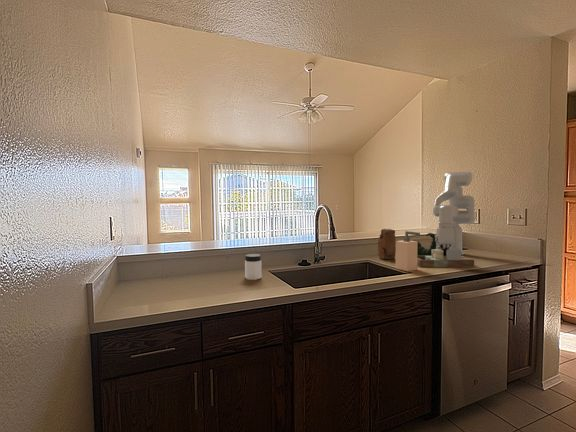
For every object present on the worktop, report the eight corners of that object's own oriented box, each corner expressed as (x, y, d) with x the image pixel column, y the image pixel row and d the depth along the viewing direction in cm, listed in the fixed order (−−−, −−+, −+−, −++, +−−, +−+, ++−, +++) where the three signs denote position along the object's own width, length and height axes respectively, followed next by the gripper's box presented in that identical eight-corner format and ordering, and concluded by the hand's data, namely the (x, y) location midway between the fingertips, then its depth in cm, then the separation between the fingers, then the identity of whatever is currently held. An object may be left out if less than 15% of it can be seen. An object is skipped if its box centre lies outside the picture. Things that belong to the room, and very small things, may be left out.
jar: (254, 275, 174) (253, 253, 174) (264, 277, 169) (264, 254, 168) (241, 278, 167) (241, 255, 167) (252, 280, 162) (252, 257, 161)
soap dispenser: (395, 268, 188) (395, 231, 187) (404, 266, 193) (405, 230, 191) (413, 272, 177) (414, 233, 176) (423, 270, 182) (424, 232, 181)
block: (389, 257, 223) (389, 228, 222) (396, 259, 216) (397, 229, 215) (376, 258, 220) (376, 229, 218) (383, 260, 213) (383, 230, 211)
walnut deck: (410, 261, 207) (410, 255, 207) (460, 261, 207) (460, 255, 207) (419, 266, 192) (419, 260, 192) (474, 266, 192) (474, 259, 192)
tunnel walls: (435, 255, 207) (436, 246, 206) (448, 255, 207) (448, 246, 206) (447, 260, 192) (447, 250, 191) (460, 260, 192) (461, 250, 191)
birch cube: (431, 257, 201) (431, 249, 201) (439, 257, 201) (439, 249, 201) (435, 258, 196) (435, 250, 196) (443, 258, 196) (443, 250, 196)
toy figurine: (439, 261, 214) (408, 253, 235) (442, 234, 212) (410, 227, 233) (431, 263, 209) (399, 254, 230) (434, 235, 207) (402, 228, 228)
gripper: (454, 225, 202) (453, 254, 203) (430, 225, 202) (430, 254, 203) (460, 226, 194) (460, 256, 195) (436, 226, 194) (435, 256, 195)
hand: (444, 255), depth 199 cm, fingers closed
